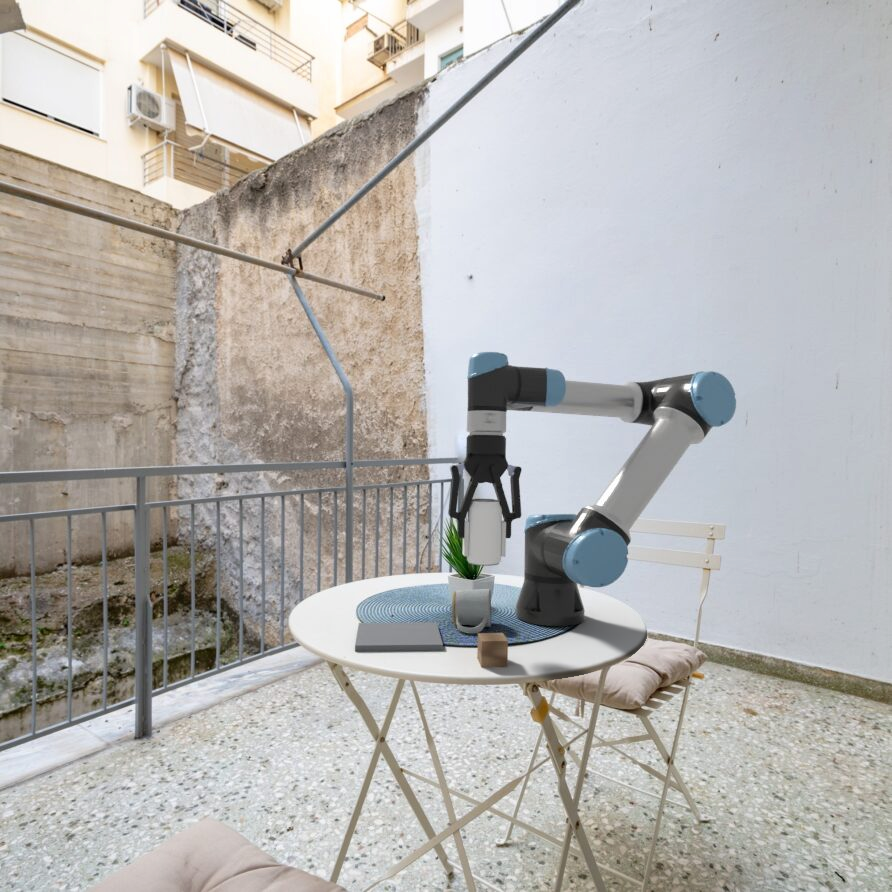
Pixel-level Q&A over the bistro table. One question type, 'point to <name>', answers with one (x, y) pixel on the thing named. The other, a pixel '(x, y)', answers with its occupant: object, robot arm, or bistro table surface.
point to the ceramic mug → (472, 609)
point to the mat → (398, 637)
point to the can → (484, 532)
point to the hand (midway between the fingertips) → (483, 555)
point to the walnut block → (492, 650)
